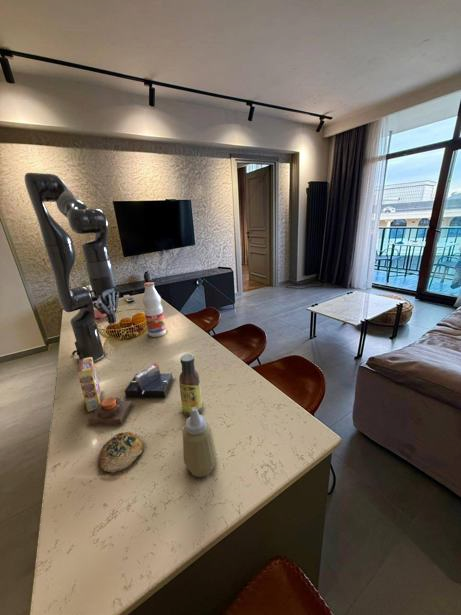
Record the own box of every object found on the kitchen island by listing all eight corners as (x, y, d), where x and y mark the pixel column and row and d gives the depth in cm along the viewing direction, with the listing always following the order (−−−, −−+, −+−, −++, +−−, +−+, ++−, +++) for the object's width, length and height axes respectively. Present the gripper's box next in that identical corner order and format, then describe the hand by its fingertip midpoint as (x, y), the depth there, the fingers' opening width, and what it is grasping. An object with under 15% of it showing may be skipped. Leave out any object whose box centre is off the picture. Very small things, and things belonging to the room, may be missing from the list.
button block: (90, 424, 78) (87, 414, 77) (103, 406, 86) (101, 396, 84) (121, 424, 78) (118, 414, 76) (132, 406, 85) (130, 396, 84)
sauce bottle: (179, 415, 80) (170, 360, 73) (189, 401, 86) (182, 350, 79) (197, 420, 78) (190, 364, 71) (206, 406, 83) (200, 353, 76)
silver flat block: (140, 389, 88) (138, 376, 86) (137, 387, 89) (134, 375, 87) (160, 375, 95) (158, 363, 93) (157, 374, 96) (154, 362, 94)
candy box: (102, 408, 85) (91, 369, 80) (87, 412, 83) (75, 373, 78) (102, 392, 93) (92, 356, 87) (88, 396, 91) (77, 359, 86)
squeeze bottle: (186, 453, 67) (177, 398, 61) (217, 450, 67) (211, 395, 61) (183, 484, 59) (173, 424, 53) (218, 480, 60) (212, 420, 54)
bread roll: (113, 435, 74) (111, 422, 72) (150, 440, 73) (149, 428, 71) (89, 472, 64) (86, 459, 62) (132, 480, 63) (130, 466, 61)
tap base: (124, 401, 88) (122, 393, 87) (139, 377, 100) (137, 370, 99) (163, 401, 87) (162, 393, 85) (174, 377, 99) (173, 370, 98)
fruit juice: (166, 328, 142) (159, 280, 132) (165, 336, 134) (157, 284, 124) (149, 330, 141) (140, 281, 131) (147, 338, 132) (137, 286, 122)
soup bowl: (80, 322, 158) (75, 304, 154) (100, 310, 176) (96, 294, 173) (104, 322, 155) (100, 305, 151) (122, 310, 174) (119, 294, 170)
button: (100, 410, 79) (99, 406, 78) (106, 401, 82) (105, 397, 82) (112, 410, 78) (111, 406, 78) (118, 401, 82) (117, 397, 82)
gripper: (101, 270, 90) (111, 315, 96) (77, 279, 77) (91, 331, 83) (121, 269, 89) (131, 315, 95) (101, 278, 77) (113, 330, 83)
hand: (112, 322), depth 89 cm, fingers closed
